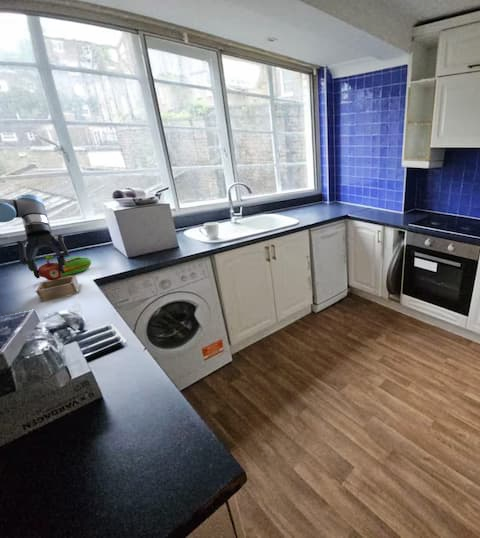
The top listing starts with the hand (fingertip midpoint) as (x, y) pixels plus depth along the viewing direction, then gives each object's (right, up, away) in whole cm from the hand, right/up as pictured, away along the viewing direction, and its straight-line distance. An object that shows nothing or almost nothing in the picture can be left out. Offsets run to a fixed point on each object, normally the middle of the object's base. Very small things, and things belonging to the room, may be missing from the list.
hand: (50, 274), depth 119 cm
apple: (-2, -2, +4) cm, 5 cm away
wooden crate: (-2, -8, +6) cm, 11 cm away
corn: (-17, -1, +25) cm, 30 cm away
